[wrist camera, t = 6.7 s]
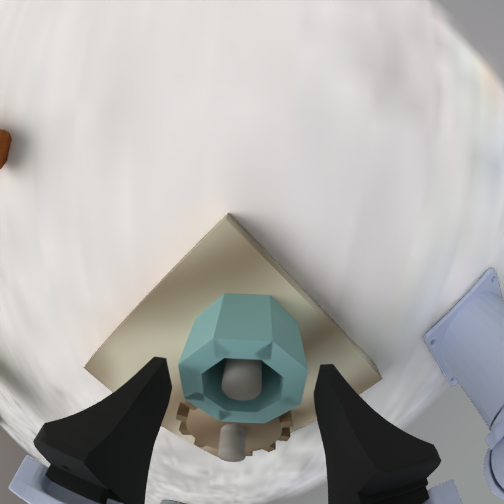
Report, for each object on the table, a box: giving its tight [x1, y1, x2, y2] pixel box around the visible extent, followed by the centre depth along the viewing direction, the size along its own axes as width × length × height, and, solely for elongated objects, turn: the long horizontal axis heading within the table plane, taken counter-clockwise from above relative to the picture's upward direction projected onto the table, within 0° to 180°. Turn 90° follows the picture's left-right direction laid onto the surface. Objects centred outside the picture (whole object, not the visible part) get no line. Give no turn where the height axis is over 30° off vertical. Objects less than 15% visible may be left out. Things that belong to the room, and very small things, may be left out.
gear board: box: [84, 213, 382, 462], centre depth 15 cm, size 15×16×6 cm
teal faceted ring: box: [178, 293, 308, 423], centre depth 13 cm, size 6×6×4 cm
